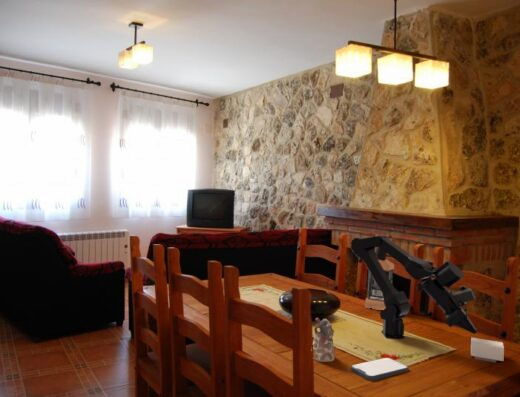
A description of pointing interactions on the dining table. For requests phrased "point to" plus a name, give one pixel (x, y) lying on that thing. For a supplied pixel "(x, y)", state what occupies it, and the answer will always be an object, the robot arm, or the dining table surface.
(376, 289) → the whiskey bottle
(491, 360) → the rubber mat
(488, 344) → the white rectangular block
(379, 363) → the phone case
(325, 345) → the figurine
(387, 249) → the robot arm
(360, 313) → the dining table surface
